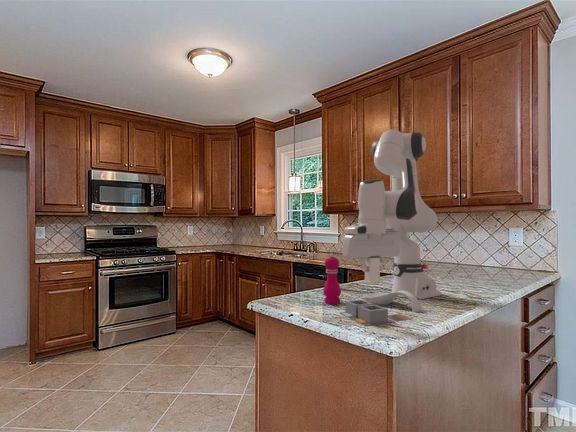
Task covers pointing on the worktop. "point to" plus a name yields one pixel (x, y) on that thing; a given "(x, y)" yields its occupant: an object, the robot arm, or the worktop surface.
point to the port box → (366, 313)
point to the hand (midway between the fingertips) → (372, 271)
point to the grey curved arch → (389, 297)
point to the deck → (398, 317)
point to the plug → (373, 269)
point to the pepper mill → (332, 281)
